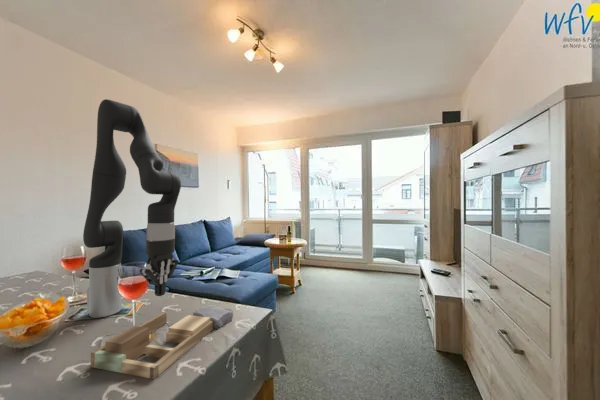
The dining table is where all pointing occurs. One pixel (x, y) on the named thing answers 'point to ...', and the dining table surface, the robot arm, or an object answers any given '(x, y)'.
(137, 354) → the walnut block
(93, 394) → the dining table surface
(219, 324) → the stone block
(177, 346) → the box
